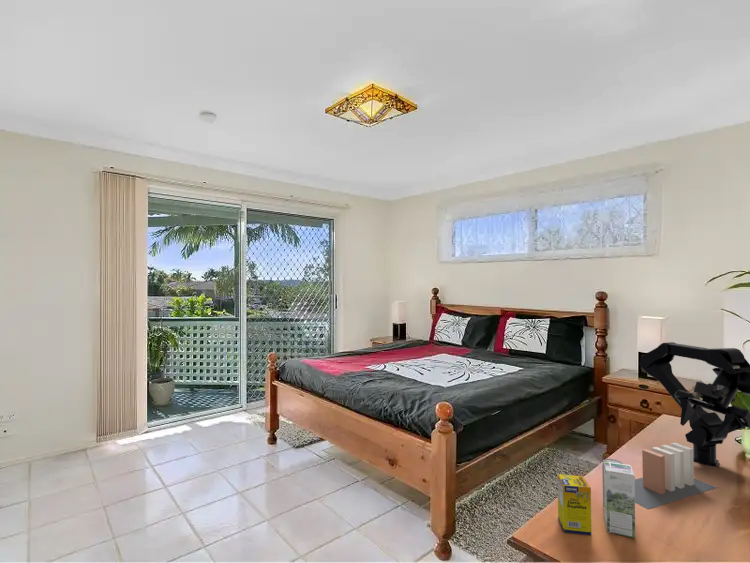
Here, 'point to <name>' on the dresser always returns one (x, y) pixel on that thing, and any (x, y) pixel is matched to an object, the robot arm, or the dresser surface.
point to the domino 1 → (668, 468)
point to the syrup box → (619, 499)
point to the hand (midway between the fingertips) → (698, 431)
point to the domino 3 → (687, 463)
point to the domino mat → (667, 493)
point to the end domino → (653, 471)
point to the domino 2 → (677, 465)
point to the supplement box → (574, 504)
